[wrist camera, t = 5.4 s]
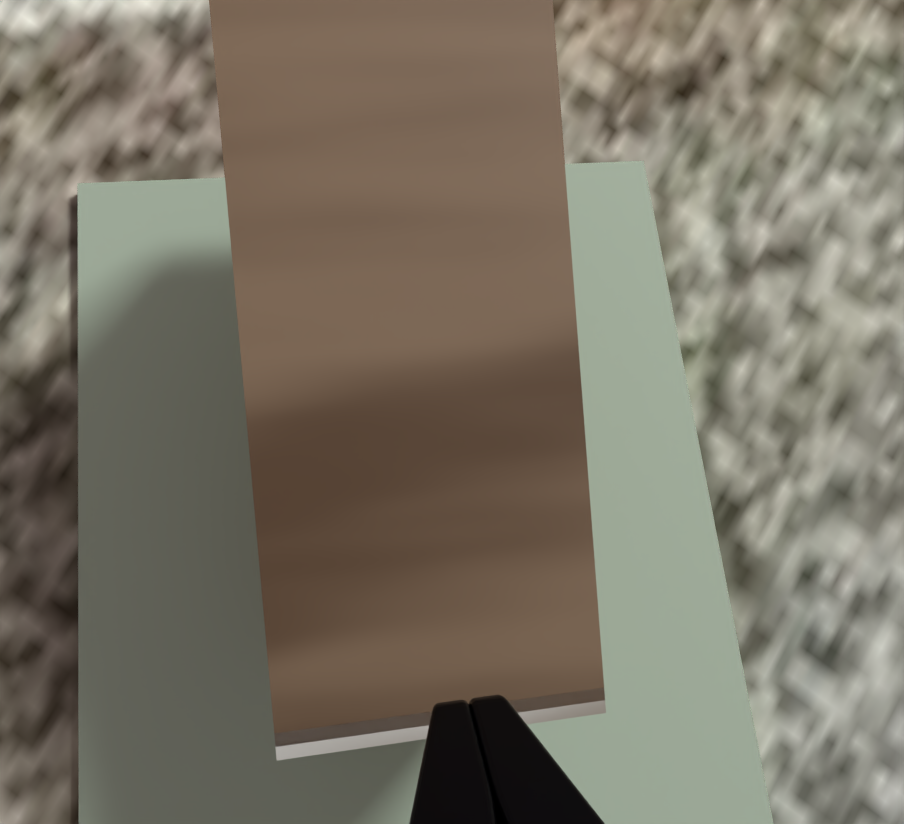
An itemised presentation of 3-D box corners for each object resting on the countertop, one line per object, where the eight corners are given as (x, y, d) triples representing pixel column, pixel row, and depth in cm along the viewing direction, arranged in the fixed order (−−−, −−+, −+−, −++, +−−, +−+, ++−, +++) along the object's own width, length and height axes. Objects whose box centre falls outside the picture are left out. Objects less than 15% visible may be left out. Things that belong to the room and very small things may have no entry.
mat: (809, 1041, 16) (817, 1049, 15) (84, 1197, 14) (78, 1209, 14) (639, 167, 20) (643, 161, 20) (82, 190, 19) (77, 183, 18)
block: (605, 712, 12) (550, -22, 12) (276, 760, 11) (207, -21, 11) (528, 620, 17) (487, 103, 17) (296, 649, 16) (248, 110, 16)
